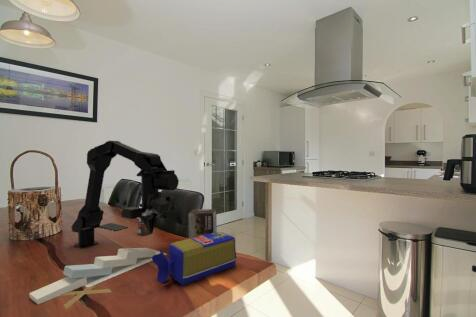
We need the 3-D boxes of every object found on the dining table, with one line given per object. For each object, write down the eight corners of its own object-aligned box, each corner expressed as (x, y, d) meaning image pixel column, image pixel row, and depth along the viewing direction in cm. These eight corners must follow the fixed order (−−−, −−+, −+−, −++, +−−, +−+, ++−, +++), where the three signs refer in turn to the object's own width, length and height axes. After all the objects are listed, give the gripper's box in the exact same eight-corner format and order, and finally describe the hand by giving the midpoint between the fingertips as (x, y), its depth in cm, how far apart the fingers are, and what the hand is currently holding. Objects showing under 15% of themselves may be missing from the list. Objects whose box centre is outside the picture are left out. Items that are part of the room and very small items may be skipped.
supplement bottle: (139, 236, 112) (138, 211, 112) (137, 233, 117) (137, 208, 117) (152, 234, 114) (152, 209, 114) (151, 231, 120) (150, 207, 120)
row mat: (71, 281, 71) (71, 278, 71) (151, 251, 94) (150, 249, 94) (87, 290, 66) (87, 287, 66) (167, 256, 89) (167, 254, 89)
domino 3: (135, 264, 81) (102, 268, 72) (126, 260, 83) (93, 264, 75) (137, 257, 81) (104, 260, 72) (128, 254, 84) (95, 257, 75)
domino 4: (154, 256, 87) (126, 258, 78) (145, 253, 90) (117, 255, 81) (155, 250, 87) (127, 251, 78) (146, 247, 90) (118, 248, 81)
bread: (239, 267, 80) (239, 235, 80) (165, 294, 64) (165, 254, 64) (221, 257, 88) (221, 228, 88) (151, 279, 72) (151, 244, 72)
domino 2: (110, 274, 74) (71, 278, 65) (102, 270, 77) (62, 273, 68) (112, 267, 74) (73, 270, 65) (103, 263, 77) (65, 265, 68)
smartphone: (115, 230, 120) (97, 226, 127) (115, 232, 120) (97, 228, 127) (129, 226, 126) (111, 222, 134) (129, 228, 126) (111, 224, 134)
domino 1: (86, 283, 68) (38, 307, 59) (78, 279, 71) (30, 300, 62) (86, 276, 68) (37, 299, 59) (77, 272, 71) (29, 293, 62)
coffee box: (217, 252, 92) (217, 208, 92) (214, 259, 86) (213, 212, 86) (193, 251, 93) (193, 208, 93) (188, 258, 87) (187, 212, 87)
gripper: (141, 194, 76) (141, 245, 76) (185, 187, 92) (185, 230, 92) (120, 191, 82) (120, 238, 82) (165, 186, 98) (165, 225, 98)
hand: (150, 233), depth 89 cm, fingers closed
